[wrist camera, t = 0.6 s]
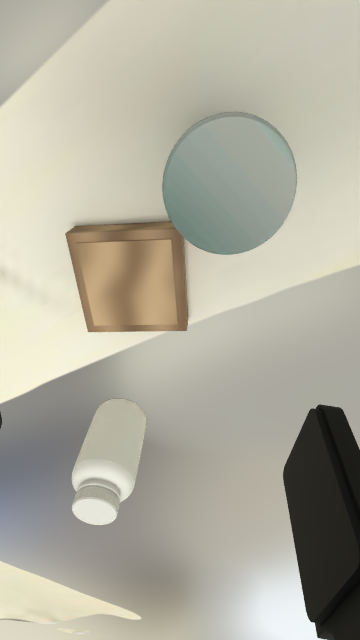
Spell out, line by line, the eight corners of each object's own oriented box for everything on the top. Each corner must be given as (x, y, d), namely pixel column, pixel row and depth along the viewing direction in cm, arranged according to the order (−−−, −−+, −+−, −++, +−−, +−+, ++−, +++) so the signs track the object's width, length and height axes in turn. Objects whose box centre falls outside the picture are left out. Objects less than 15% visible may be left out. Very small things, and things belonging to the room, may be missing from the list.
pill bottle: (152, 433, 53) (133, 532, 40) (103, 434, 54) (69, 531, 41) (143, 395, 50) (119, 491, 37) (90, 397, 51) (49, 491, 38)
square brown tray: (182, 221, 37) (180, 229, 34) (188, 318, 43) (186, 331, 40) (75, 226, 38) (64, 234, 35) (95, 319, 44) (87, 332, 41)
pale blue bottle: (216, 206, 36) (222, 282, 18) (172, 157, 34) (132, 190, 16) (266, 158, 33) (328, 194, 16) (222, 102, 31) (237, 72, 14)
